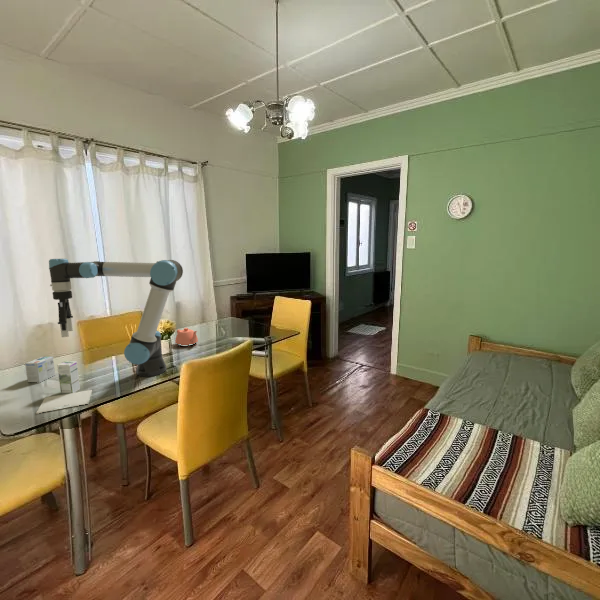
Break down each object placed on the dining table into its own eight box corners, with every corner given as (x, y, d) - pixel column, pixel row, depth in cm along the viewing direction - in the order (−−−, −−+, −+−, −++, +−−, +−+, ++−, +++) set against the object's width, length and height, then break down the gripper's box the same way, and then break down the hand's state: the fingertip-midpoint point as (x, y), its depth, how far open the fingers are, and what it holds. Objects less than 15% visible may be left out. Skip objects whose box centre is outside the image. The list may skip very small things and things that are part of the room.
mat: (92, 390, 155) (91, 389, 155) (88, 404, 141) (88, 403, 141) (45, 398, 147) (45, 397, 146) (36, 414, 133) (36, 413, 132)
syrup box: (80, 388, 157) (77, 360, 155) (72, 394, 151) (69, 364, 149) (68, 389, 157) (65, 360, 155) (60, 394, 151) (56, 364, 149)
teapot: (206, 344, 231) (205, 328, 229) (188, 350, 219) (187, 332, 217) (186, 340, 243) (185, 324, 241) (169, 345, 231) (167, 328, 229)
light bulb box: (44, 375, 175) (41, 356, 173) (56, 375, 175) (53, 356, 173) (27, 383, 165) (24, 363, 163) (39, 383, 164) (37, 363, 163)
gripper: (57, 288, 164) (62, 329, 167) (47, 294, 143) (53, 340, 146) (74, 287, 168) (79, 327, 171) (67, 292, 146) (73, 338, 150)
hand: (67, 333), depth 159 cm, fingers open, 12 cm apart
